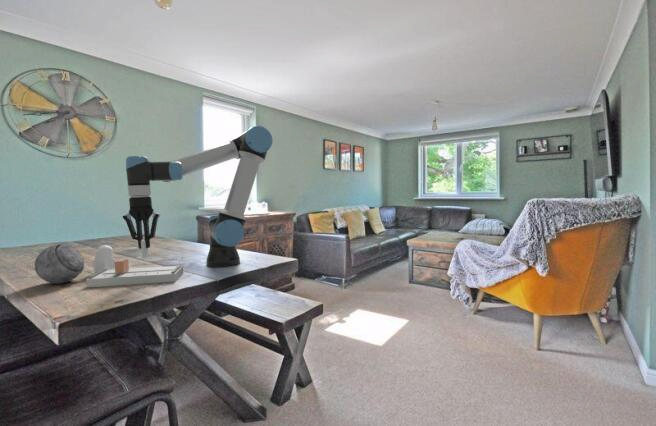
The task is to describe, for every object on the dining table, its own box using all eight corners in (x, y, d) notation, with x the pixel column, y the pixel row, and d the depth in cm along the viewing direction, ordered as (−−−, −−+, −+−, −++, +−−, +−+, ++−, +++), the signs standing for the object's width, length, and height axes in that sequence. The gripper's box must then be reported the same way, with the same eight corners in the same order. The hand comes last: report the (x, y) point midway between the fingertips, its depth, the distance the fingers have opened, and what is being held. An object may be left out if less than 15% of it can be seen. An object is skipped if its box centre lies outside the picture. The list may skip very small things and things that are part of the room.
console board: (183, 272, 140) (183, 264, 139) (175, 281, 126) (175, 271, 126) (103, 277, 133) (103, 268, 133) (86, 287, 120) (86, 277, 119)
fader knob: (128, 270, 131) (128, 258, 131) (124, 273, 126) (123, 260, 126) (120, 270, 130) (119, 258, 130) (115, 273, 126) (114, 261, 125)
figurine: (104, 275, 136) (103, 247, 135) (89, 275, 138) (87, 246, 137) (118, 271, 143) (117, 244, 142) (104, 271, 145) (102, 243, 144)
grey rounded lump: (70, 287, 121) (67, 246, 120) (25, 289, 118) (22, 248, 117) (92, 276, 135) (90, 240, 134) (52, 278, 133) (50, 241, 132)
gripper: (161, 195, 133) (165, 253, 135) (125, 197, 130) (130, 256, 132) (155, 196, 126) (160, 257, 128) (117, 197, 123) (123, 259, 125)
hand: (145, 256), depth 130 cm, fingers closed
